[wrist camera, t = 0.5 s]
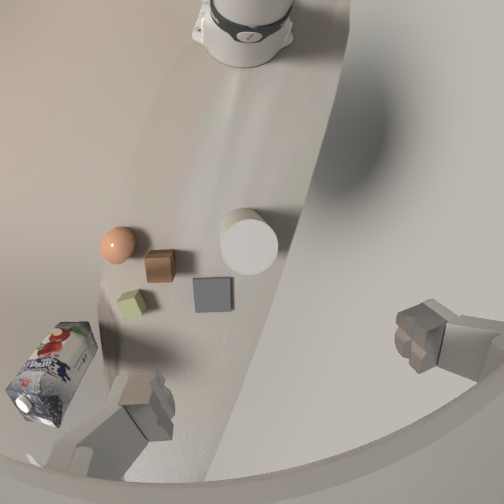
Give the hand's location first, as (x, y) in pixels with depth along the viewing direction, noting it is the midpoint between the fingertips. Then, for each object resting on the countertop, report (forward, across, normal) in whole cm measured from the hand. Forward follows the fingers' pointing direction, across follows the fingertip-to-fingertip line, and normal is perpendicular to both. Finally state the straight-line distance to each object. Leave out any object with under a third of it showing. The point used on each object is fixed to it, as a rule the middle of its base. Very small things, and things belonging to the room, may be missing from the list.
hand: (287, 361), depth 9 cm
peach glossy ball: (+44, +21, +2) cm, 49 cm away
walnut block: (+44, +14, +8) cm, 47 cm away
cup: (+44, -2, +5) cm, 44 cm away
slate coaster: (+44, +7, +16) cm, 47 cm away
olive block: (+44, +23, +14) cm, 51 cm away
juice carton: (+44, +40, +20) cm, 63 cm away
